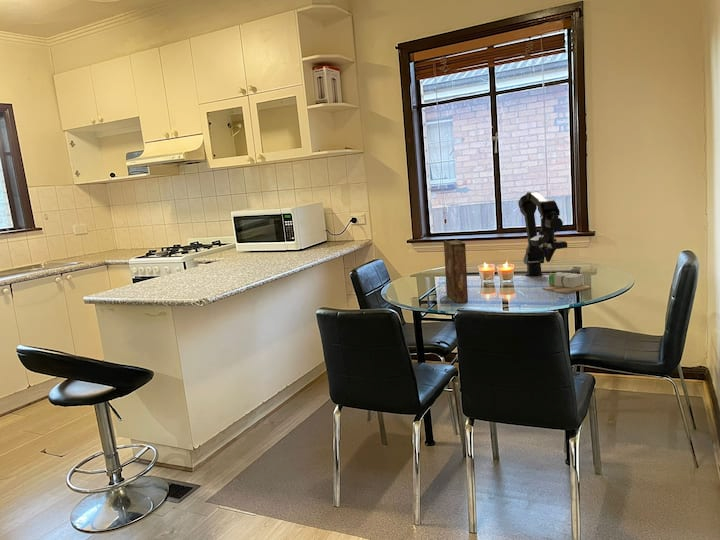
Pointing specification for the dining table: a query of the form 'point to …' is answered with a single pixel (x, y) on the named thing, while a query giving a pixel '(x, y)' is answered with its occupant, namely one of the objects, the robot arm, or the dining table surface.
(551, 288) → the cork trivet
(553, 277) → the ink box
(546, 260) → the robot arm
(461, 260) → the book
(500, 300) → the dining table surface
